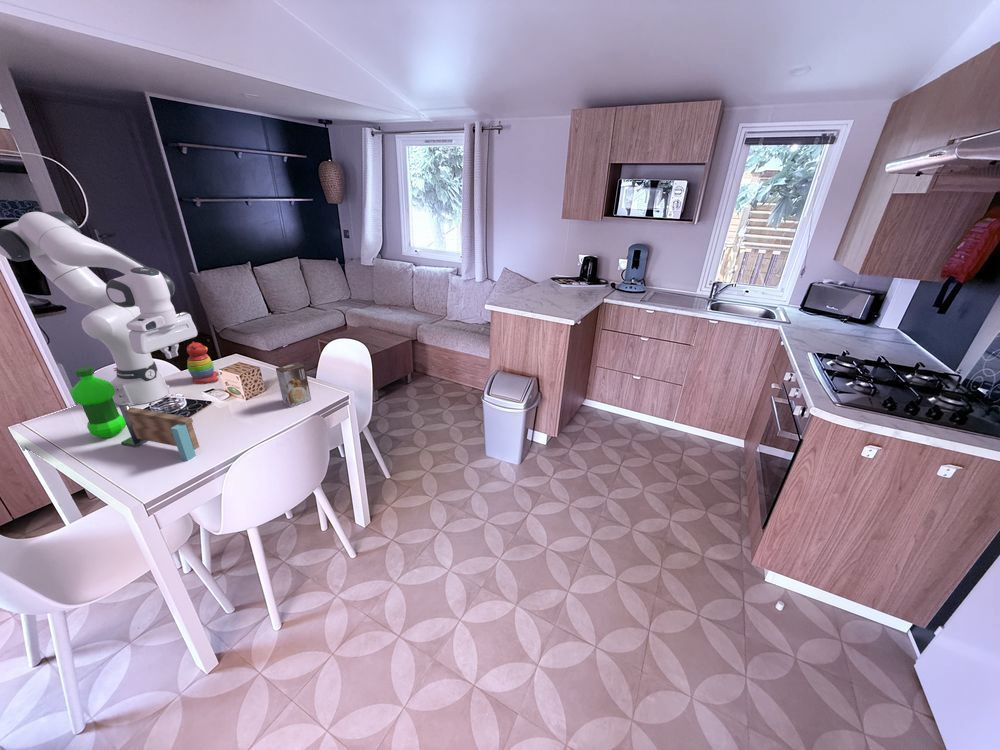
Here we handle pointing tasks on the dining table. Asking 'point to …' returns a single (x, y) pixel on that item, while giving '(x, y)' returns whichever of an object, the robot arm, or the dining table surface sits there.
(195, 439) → the gate
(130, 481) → the dining table surface
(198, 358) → the stacking bear
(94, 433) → the plastic bottle
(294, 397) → the coffee box
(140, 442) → the hinge post
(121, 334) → the robot arm
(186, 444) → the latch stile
